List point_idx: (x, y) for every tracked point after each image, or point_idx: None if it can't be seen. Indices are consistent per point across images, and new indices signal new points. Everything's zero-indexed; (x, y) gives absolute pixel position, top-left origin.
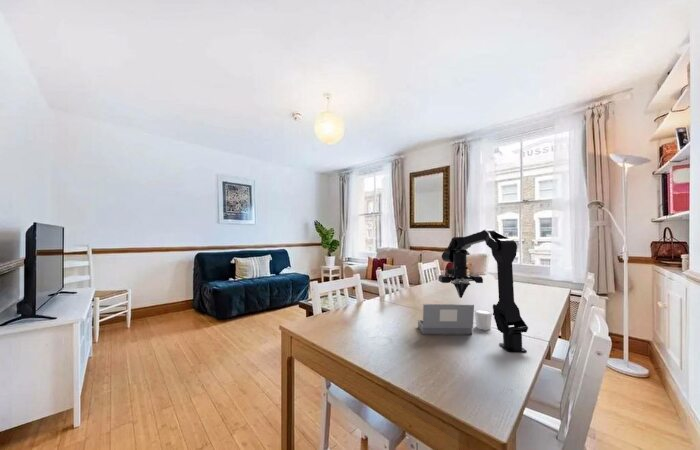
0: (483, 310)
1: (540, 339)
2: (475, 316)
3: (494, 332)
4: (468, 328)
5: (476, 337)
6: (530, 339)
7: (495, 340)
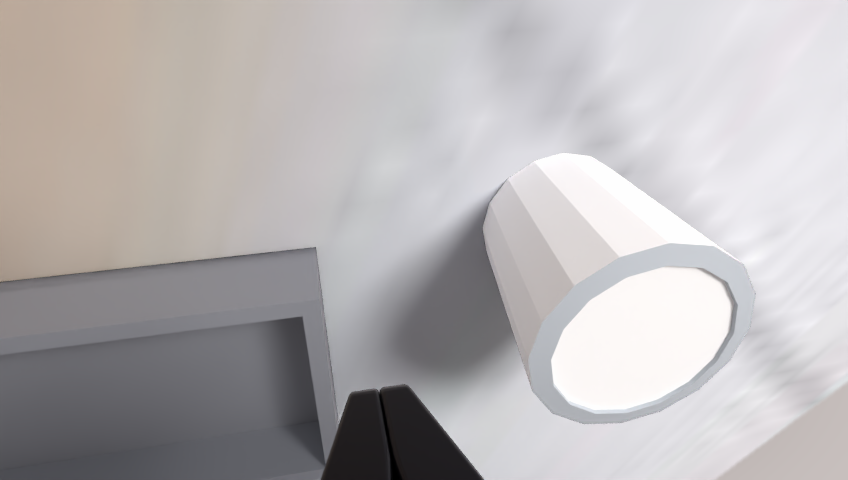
0: (704, 271)
1: (803, 395)
2: (517, 284)
3: None
4: (308, 473)
5: None
6: (738, 407)
7: (479, 467)
